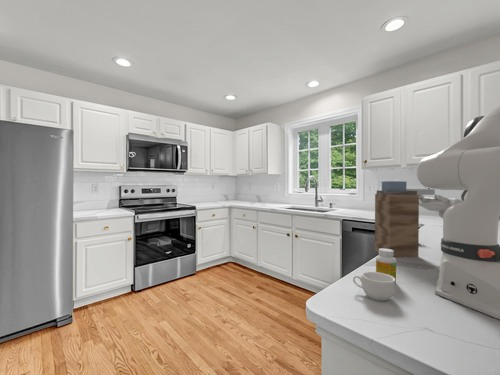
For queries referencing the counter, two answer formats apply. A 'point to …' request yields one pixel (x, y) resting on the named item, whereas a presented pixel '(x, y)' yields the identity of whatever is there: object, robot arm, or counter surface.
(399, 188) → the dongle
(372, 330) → the counter surface
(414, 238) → the socket tower
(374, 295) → the teacup
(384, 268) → the supplement bottle
